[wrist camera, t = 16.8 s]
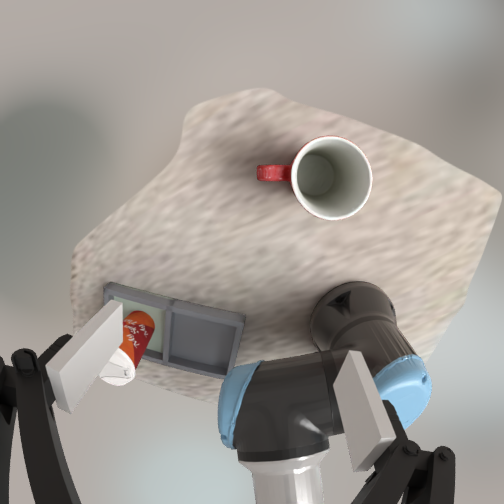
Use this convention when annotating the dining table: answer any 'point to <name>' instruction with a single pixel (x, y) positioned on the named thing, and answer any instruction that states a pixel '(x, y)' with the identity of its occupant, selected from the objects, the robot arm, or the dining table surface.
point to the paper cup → (129, 349)
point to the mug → (326, 177)
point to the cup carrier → (184, 331)
